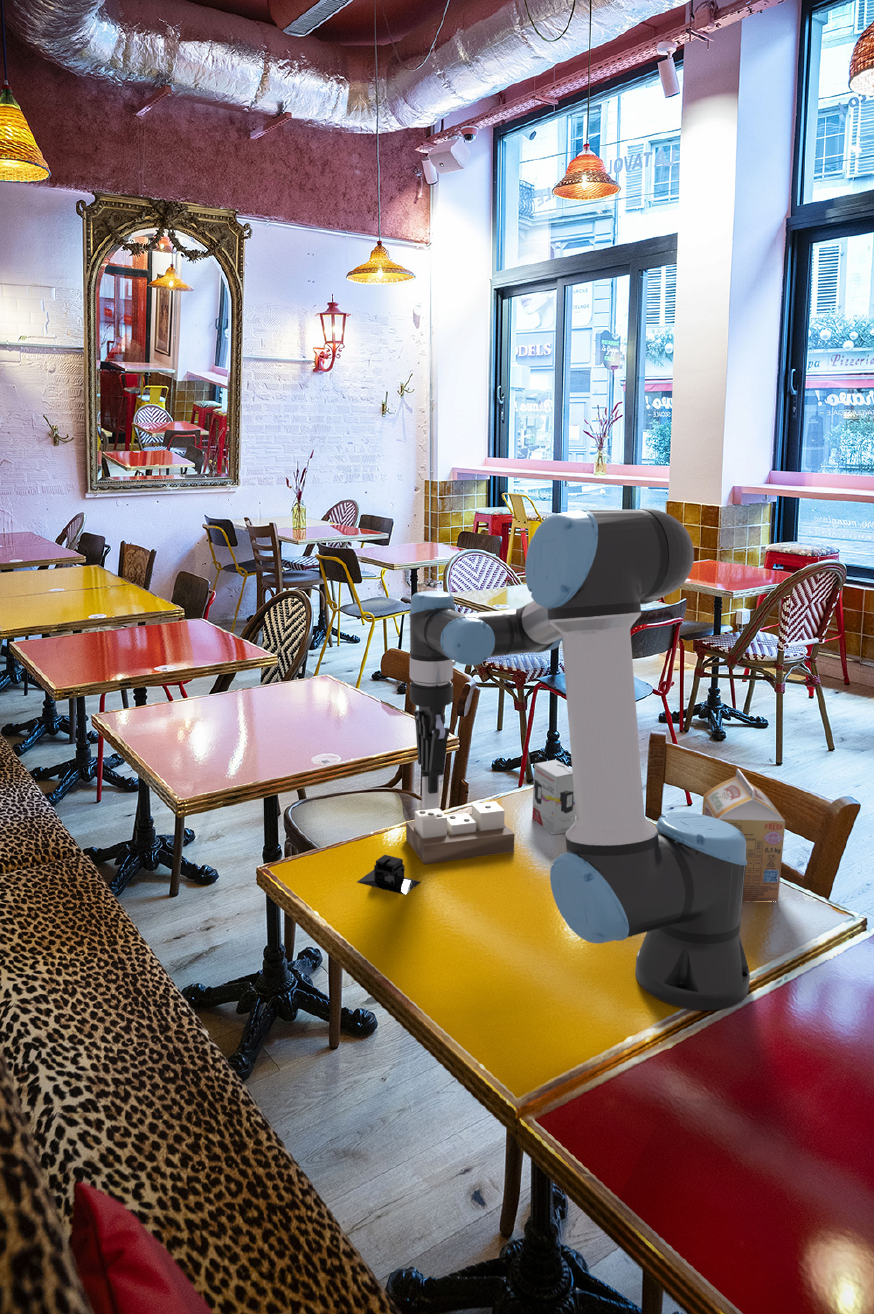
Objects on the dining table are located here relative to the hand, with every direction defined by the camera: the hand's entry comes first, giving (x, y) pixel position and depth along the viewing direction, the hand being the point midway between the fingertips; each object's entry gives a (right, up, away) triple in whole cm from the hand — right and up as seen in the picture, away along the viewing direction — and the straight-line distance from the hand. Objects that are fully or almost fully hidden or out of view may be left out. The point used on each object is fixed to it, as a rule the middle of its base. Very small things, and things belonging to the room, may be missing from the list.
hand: (430, 807), depth 171 cm
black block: (-7, -11, -11) cm, 17 cm away
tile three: (0, -6, +1) cm, 6 cm away
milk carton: (+51, -11, -12) cm, 54 cm away
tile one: (+11, -5, +4) cm, 12 cm away
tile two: (+5, -7, +3) cm, 9 cm away
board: (+5, -7, +3) cm, 10 cm away
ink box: (+24, -6, +13) cm, 28 cm away
